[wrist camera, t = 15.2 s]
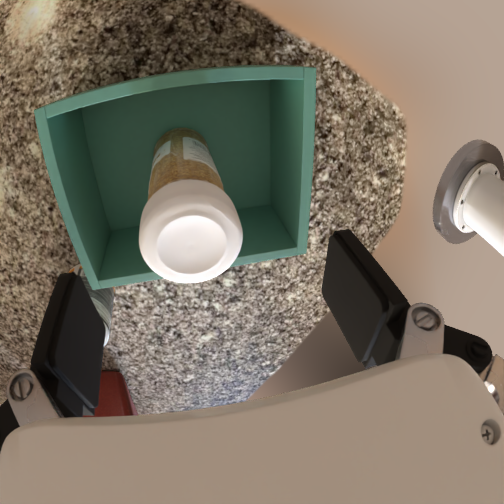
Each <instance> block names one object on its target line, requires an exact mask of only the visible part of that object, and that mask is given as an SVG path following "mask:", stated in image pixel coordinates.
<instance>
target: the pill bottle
mask: <svg viewBox="0 0 504 504" xmlns="http://www.w3.org/2000/svg"><path fill="white" fill-rule="evenodd" d="M70 272H75V273H76V275H80V276H81V278H82V280H83V283H84V285H85V287H86V289H87V291H88V293H89V295H90V297H91V299H92V301H93V303H94V305H95V307H96V309H97V311H98V313H99V315H100V317H101V318H102V320H103V322H104V324H105V328H106V335H105V342H104V346H105V345H106V344H107V342H108V339H109V336H110V326H111V317H112V309H113V300H114V291H115V287H108V288H101V289H96V290H92V288H91V286H90V284H89V281H88V279H87V277H86V275H85V273H84V270H83V268H82V266H81V264H78V265H76V266H74V267H73V268H71V269H70V271H69V272H68V273H70Z"/></svg>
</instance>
